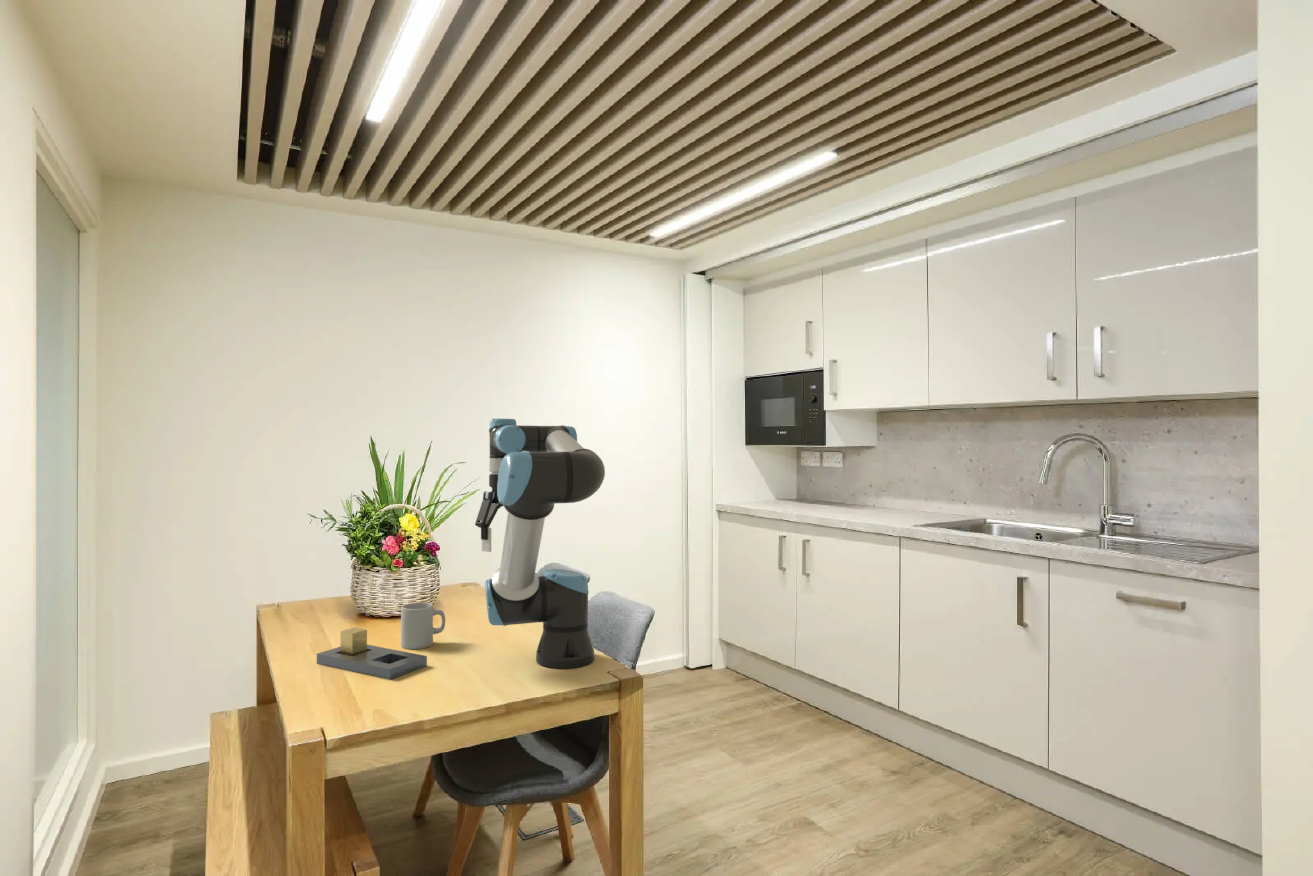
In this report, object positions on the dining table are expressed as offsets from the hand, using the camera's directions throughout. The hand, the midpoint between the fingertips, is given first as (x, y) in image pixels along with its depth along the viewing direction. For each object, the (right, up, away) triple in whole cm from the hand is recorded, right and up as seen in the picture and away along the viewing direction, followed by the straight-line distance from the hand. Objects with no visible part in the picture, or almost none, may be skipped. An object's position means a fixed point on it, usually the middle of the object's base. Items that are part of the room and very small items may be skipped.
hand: (502, 548), depth 212 cm
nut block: (-35, -27, -18) cm, 47 cm away
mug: (-22, -27, -2) cm, 35 cm away
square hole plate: (-29, -27, -21) cm, 45 cm away
